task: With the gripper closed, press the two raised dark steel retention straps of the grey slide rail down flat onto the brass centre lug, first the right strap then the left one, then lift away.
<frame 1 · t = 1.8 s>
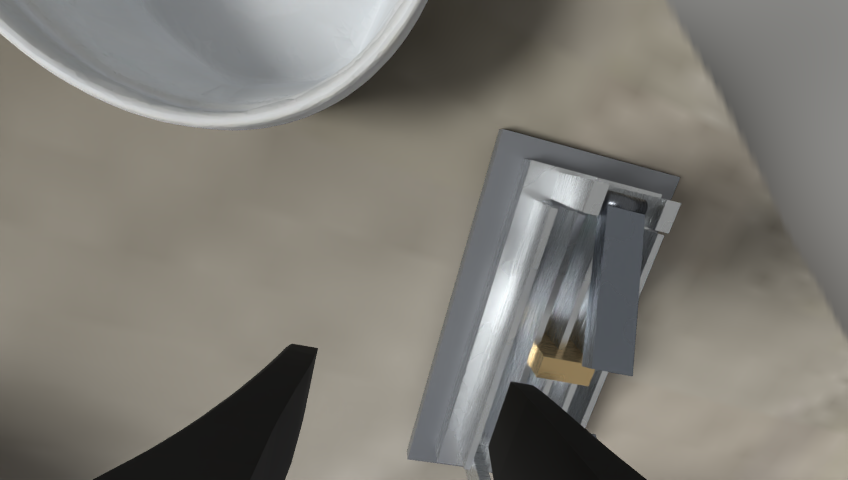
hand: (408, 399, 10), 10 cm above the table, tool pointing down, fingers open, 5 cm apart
grey slide rail: (534, 328, 20), resting on slate board
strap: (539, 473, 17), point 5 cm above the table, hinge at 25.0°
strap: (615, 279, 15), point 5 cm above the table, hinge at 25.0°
slate board: (530, 322, 21), on the table
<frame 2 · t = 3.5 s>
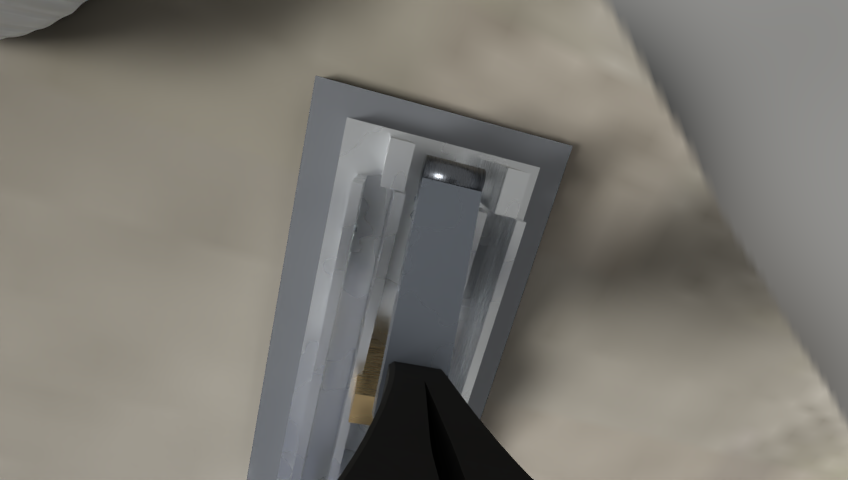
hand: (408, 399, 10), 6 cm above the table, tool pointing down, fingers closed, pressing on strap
grey slide rail: (390, 346, 15), resting on slate board
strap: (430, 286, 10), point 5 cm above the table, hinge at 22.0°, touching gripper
slate board: (390, 338, 16), on the table
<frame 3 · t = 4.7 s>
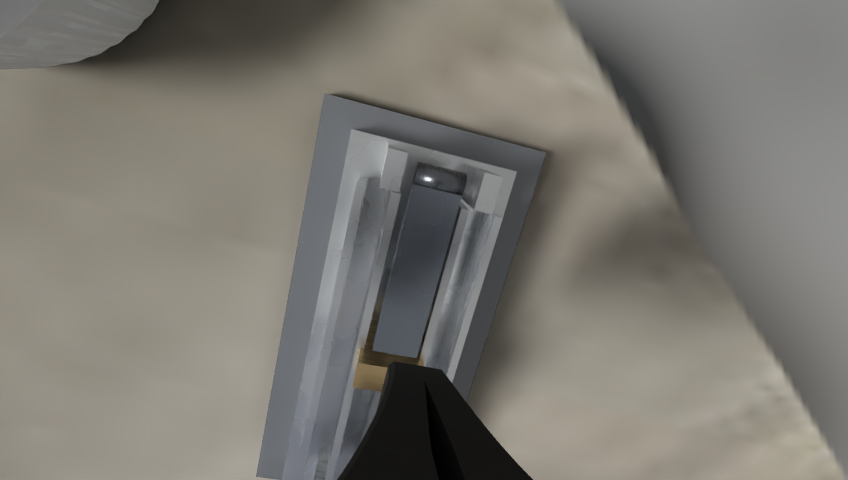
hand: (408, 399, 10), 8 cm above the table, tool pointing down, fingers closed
grey slide rail: (388, 328, 18), resting on slate board
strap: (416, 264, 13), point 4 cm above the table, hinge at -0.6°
slate board: (388, 322, 18), on the table
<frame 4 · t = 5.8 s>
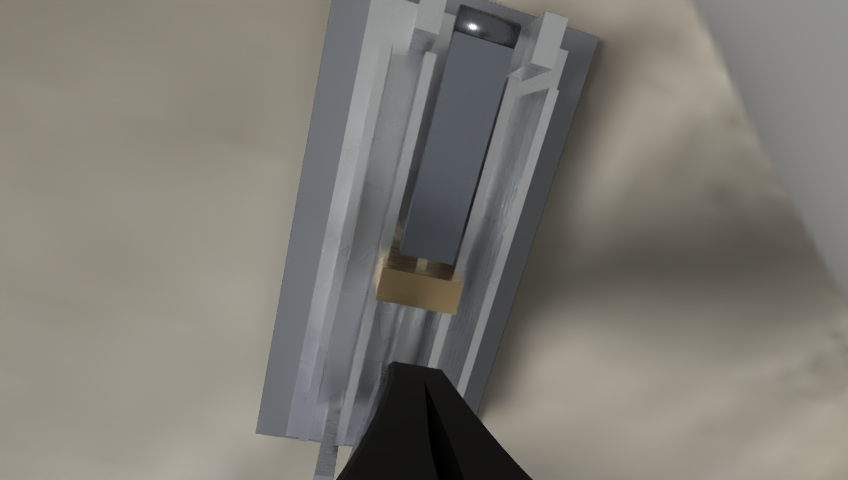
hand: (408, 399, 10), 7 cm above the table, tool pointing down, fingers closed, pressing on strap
grey slide rail: (411, 253, 15), resting on slate board
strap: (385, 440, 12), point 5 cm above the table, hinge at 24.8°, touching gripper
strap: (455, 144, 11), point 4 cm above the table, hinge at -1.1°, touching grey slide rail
slate board: (410, 249, 16), on the table
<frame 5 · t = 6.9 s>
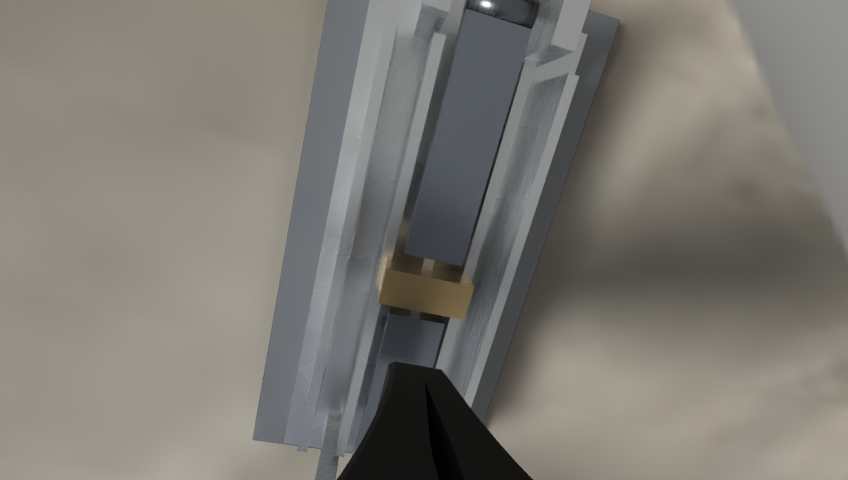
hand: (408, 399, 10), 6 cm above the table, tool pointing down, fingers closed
grey slide rail: (416, 252, 14), resting on slate board
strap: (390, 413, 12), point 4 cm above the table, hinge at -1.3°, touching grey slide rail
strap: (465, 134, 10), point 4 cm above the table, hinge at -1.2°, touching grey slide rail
slate board: (415, 247, 15), on the table
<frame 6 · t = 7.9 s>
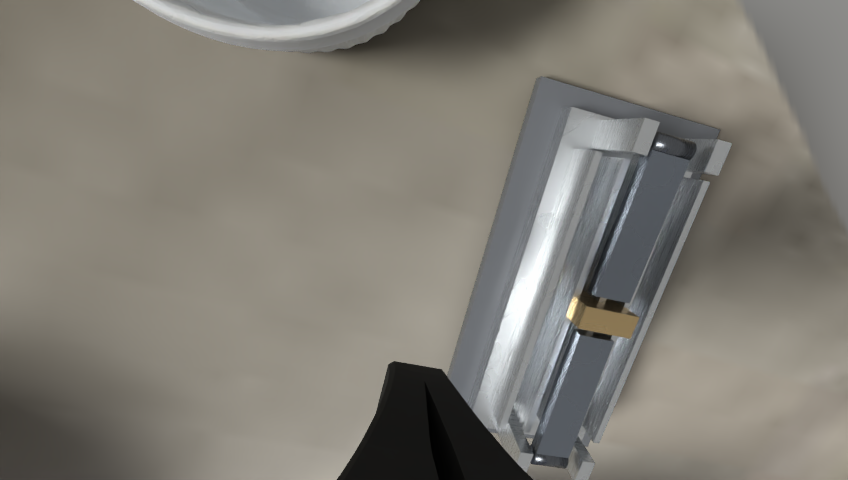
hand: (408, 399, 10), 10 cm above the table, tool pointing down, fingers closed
grey slide rail: (567, 287, 20), resting on slate board
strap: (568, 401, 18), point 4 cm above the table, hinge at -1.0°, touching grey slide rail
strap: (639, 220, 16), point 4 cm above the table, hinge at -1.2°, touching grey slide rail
slate board: (562, 283, 20), on the table
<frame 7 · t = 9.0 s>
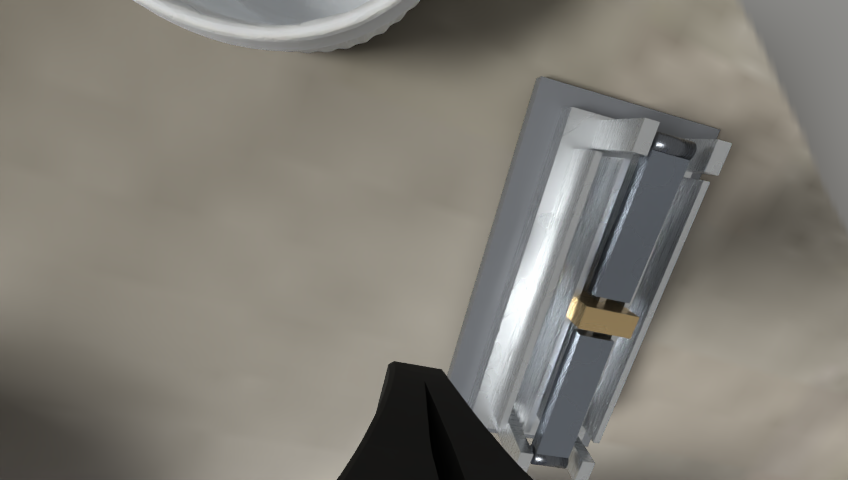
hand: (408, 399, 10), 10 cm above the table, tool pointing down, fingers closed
grey slide rail: (567, 287, 20), resting on slate board
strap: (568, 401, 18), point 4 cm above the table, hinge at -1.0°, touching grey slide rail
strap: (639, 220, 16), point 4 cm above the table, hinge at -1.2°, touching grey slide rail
slate board: (562, 283, 20), on the table
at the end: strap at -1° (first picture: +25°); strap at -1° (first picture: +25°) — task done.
